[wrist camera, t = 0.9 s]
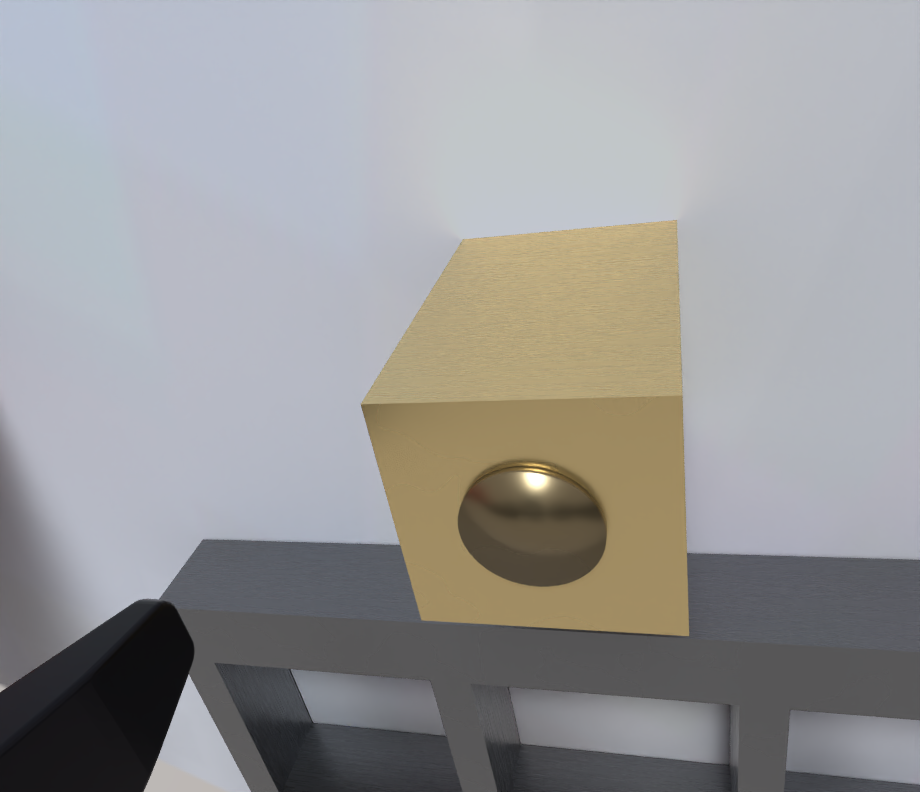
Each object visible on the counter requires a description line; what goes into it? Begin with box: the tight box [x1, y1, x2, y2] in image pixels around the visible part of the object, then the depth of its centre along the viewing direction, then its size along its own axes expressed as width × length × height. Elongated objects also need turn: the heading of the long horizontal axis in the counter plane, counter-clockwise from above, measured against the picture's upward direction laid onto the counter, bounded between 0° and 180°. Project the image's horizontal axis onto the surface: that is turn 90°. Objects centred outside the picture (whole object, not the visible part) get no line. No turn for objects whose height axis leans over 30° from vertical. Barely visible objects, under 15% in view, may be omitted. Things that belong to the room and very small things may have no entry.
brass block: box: [361, 220, 689, 636], centre depth 13 cm, size 4×4×6 cm
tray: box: [159, 540, 920, 792], centre depth 20 cm, size 22×10×2 cm, turn 99°
